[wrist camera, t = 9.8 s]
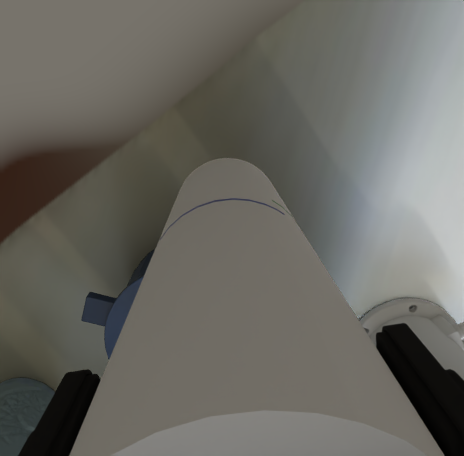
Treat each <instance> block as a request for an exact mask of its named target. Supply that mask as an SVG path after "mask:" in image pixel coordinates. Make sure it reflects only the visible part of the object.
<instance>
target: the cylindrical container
mask: <svg viewBox="0 0 464 456" xmlns="http://www.w3.org/2000/svg"><path fill="white" fill-rule="evenodd" d="M69 456H445V455H444V454H443V452H442V451H441V449H440V448H439V446H438V444H437V443H436V441H435V440H434V438H433V437H432V435H431V433H430V432H429V430H428V429H427V427H426V426H425V424H424V422H423V421H422V419H421V418H420V416H419V415H418V413H417V411H416V410H415V408H414V407H413V405H412V403H411V402H410V400H409V399H408V397H407V396H406V394H405V392H404V391H403V389H402V388H401V386H400V385H399V383H398V381H397V380H396V378H395V377H394V375H393V374H392V372H391V370H390V369H389V367H388V366H387V364H386V363H385V361H384V359H383V358H382V356H381V355H380V353H379V351H378V350H377V348H376V347H375V345H374V344H373V342H372V340H371V339H370V337H369V336H368V334H367V333H366V331H365V329H364V328H363V326H362V325H361V323H360V322H359V320H358V318H357V317H356V315H355V314H354V312H353V311H352V309H351V307H350V306H349V304H348V303H347V301H346V300H345V298H344V296H343V295H342V293H341V292H340V290H339V288H338V287H337V285H336V284H335V282H334V281H333V279H332V277H331V276H330V274H329V273H328V271H327V270H326V268H325V266H324V265H323V263H322V262H321V260H320V259H319V257H318V255H317V254H316V252H315V251H314V249H313V248H312V246H311V244H310V243H309V241H308V240H307V238H306V237H305V235H304V233H303V232H302V230H301V229H300V227H299V226H298V224H297V222H296V221H295V219H294V218H293V216H292V215H291V213H290V211H289V210H288V208H287V207H286V205H285V203H284V202H283V200H282V199H281V197H280V196H279V194H278V192H277V191H276V189H275V188H274V186H273V185H272V183H271V181H270V180H269V178H268V177H267V176H266V175H265V174H264V173H263V172H262V171H261V170H260V169H258V168H257V167H256V166H255V165H253V164H251V163H249V162H247V161H243V160H240V159H235V158H221V159H215V160H212V161H209V162H206V163H204V164H202V165H201V166H199V167H197V168H196V169H195V170H194V171H193V172H192V173H191V174H189V176H188V177H187V178H186V180H185V181H184V182H183V184H182V187H181V189H180V191H179V193H178V196H177V198H176V200H175V203H174V205H173V208H172V210H171V212H170V215H169V217H168V220H167V222H166V224H165V227H164V229H163V232H162V234H161V236H160V239H159V241H158V244H157V246H156V248H155V251H154V253H153V256H152V258H151V261H150V263H149V265H148V268H147V270H146V273H145V275H144V277H143V280H142V282H141V285H140V287H139V289H138V292H137V294H136V297H135V299H134V301H133V304H132V306H131V309H130V311H129V313H128V316H127V318H126V321H125V323H124V325H123V328H122V330H121V333H120V335H119V337H118V340H117V342H116V345H115V347H114V349H113V352H112V354H111V357H110V359H109V361H108V364H107V366H106V369H105V371H104V373H103V376H102V378H101V381H100V383H99V385H98V388H97V390H96V393H95V395H94V398H93V400H92V402H91V405H90V407H89V410H88V412H87V414H86V417H85V419H84V422H83V424H82V426H81V429H80V431H79V434H78V436H77V438H76V441H75V443H74V446H73V448H72V450H71V453H70V455H69Z"/></svg>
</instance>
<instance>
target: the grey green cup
mask: <svg viewBox="0 0 464 456" xmlns="http://www.w3.org/2000/svg"><path fill="white" fill-rule="evenodd" d="M54 394H55V392H54V391H53V390H52V389H51V388H50V387H48V386H47V385H46V384H44V383H42V382H40V381H37V380H34V379H29V378H13V379H9V380H6V381H4V382H2V383H0V456H18V455H19V453H20V451H21V449H22V447H23V446H24V444H25V442H26V440H27V438H28V437H29V435H30V434H31V433H32V432H33V431H34V430H35V428H36V426H37V424H38V423H39V421H40V419H41V417H42V415H43V414H44V412H45V410H46V408H47V406H48V405H49V403H50V401H51V399H52V397H53V396H54Z"/></svg>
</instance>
